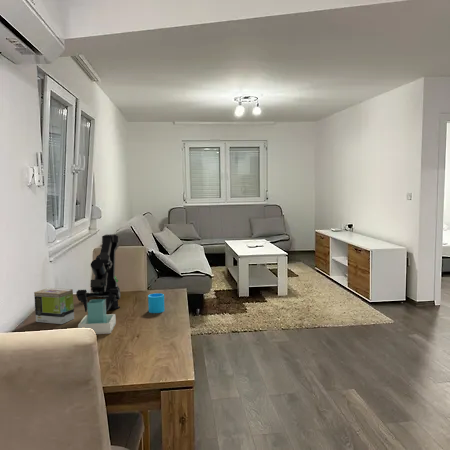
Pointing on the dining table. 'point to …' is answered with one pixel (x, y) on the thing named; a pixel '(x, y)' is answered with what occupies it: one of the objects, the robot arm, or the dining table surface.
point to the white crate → (100, 324)
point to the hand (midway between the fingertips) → (96, 311)
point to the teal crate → (96, 311)
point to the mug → (156, 303)
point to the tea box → (54, 305)
